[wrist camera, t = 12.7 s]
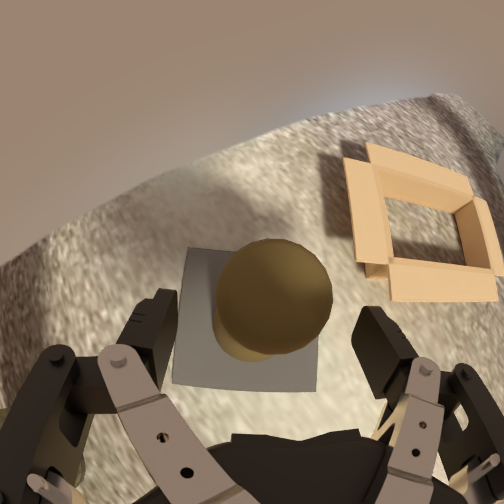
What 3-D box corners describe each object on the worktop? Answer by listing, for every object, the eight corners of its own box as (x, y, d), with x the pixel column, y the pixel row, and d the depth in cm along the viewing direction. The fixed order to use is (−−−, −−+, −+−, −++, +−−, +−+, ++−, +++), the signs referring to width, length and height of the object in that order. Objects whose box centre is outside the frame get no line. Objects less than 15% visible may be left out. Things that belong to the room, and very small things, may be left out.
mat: (316, 262, 24) (318, 260, 23) (313, 391, 20) (315, 391, 19) (188, 249, 23) (188, 247, 22) (173, 382, 19) (172, 383, 18)
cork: (218, 367, 19) (214, 377, 9) (207, 290, 21) (196, 224, 11) (296, 354, 20) (367, 346, 10) (282, 281, 22) (333, 212, 12)
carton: (462, 196, 30) (479, 182, 26) (486, 308, 24) (509, 300, 20) (327, 160, 28) (339, 135, 25) (337, 309, 22) (358, 299, 19)
